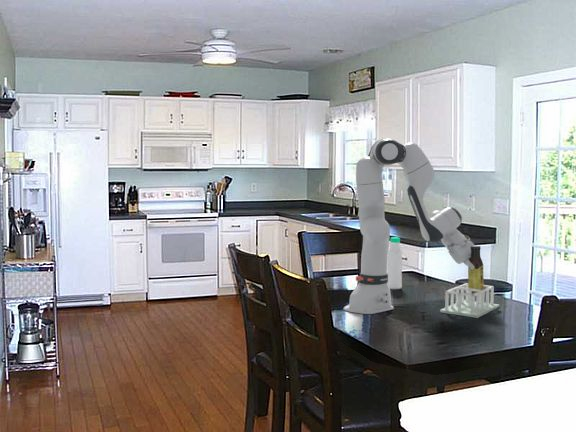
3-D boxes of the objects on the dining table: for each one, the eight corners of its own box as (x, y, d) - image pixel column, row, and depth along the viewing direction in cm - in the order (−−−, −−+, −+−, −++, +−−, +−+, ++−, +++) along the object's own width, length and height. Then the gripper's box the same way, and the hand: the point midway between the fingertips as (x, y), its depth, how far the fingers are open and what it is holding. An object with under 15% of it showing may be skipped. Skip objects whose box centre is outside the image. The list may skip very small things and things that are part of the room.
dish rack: (477, 317, 258) (478, 295, 257) (439, 312, 267) (440, 290, 267) (499, 306, 278) (499, 286, 277) (463, 301, 287) (463, 281, 287)
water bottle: (401, 286, 321) (402, 236, 319) (402, 289, 314) (403, 238, 312) (386, 286, 322) (387, 236, 320) (387, 289, 315) (388, 238, 313)
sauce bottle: (484, 294, 272) (484, 247, 270) (468, 293, 273) (468, 247, 272) (482, 291, 278) (482, 245, 277) (467, 290, 279) (467, 245, 278)
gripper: (450, 240, 270) (473, 266, 265) (469, 235, 286) (491, 259, 281) (440, 250, 273) (462, 275, 268) (459, 245, 289) (480, 268, 284)
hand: (477, 267), depth 275 cm, fingers closed on sauce bottle, 6 cm apart
